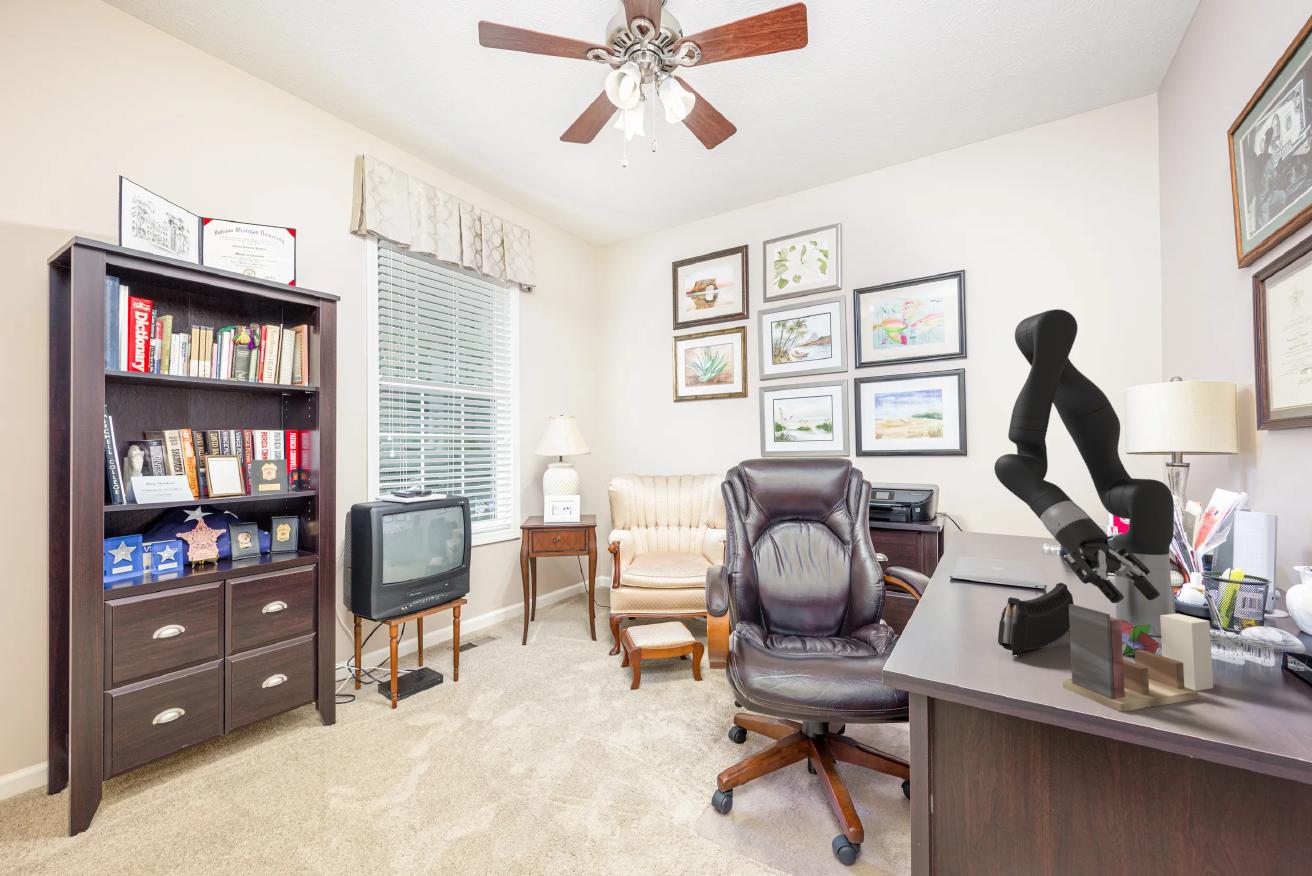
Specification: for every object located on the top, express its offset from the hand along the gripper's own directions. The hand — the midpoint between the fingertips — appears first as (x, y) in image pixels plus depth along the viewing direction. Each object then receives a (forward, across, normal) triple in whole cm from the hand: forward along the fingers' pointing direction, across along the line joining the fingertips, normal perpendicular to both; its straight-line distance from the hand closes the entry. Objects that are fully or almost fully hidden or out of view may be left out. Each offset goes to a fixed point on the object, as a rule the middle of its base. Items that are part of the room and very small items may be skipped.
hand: (1137, 599), depth 96 cm
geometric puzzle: (+6, +5, +12) cm, 14 cm away
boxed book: (+14, 0, +4) cm, 14 cm away
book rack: (+14, -13, +4) cm, 19 cm away
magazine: (-2, -5, +20) cm, 20 cm away
